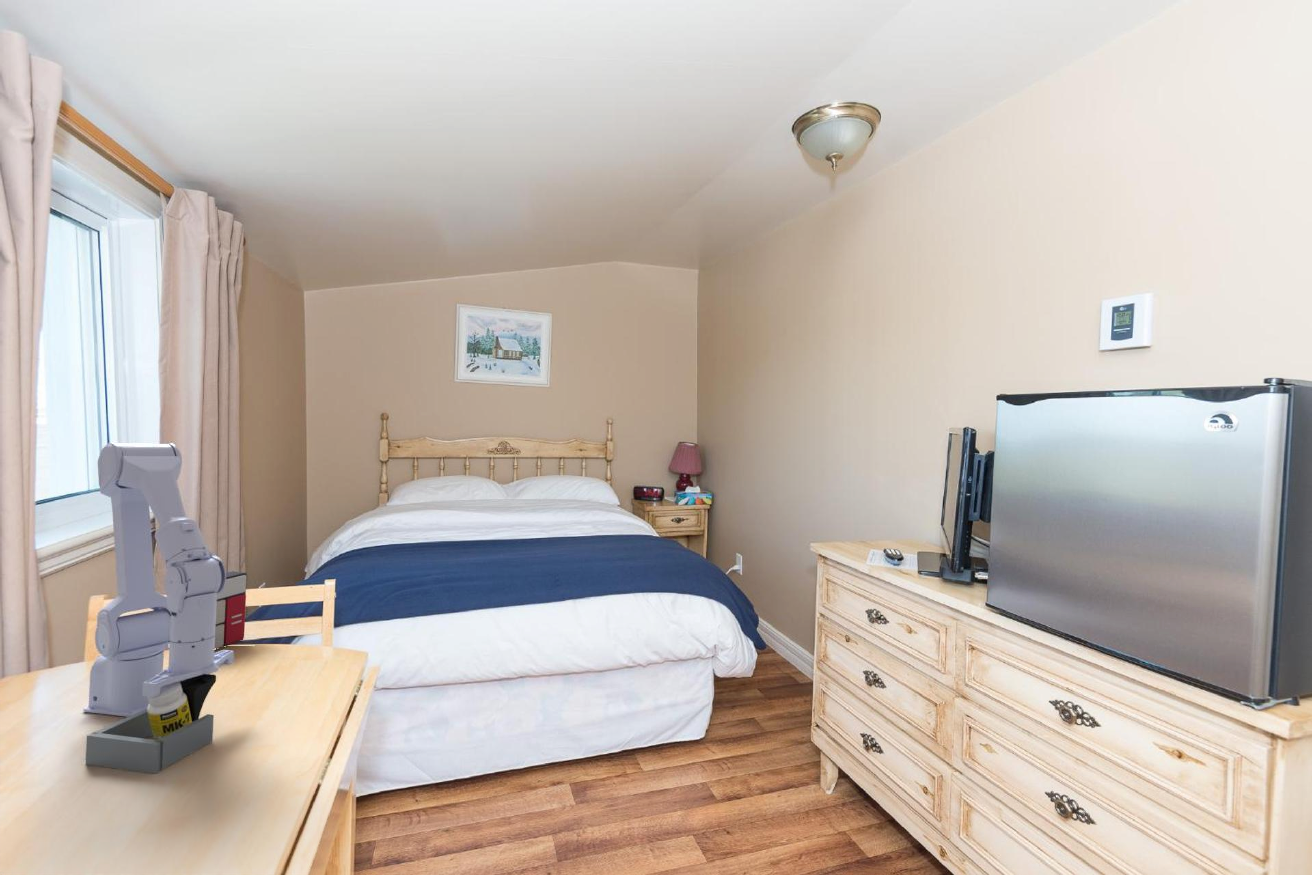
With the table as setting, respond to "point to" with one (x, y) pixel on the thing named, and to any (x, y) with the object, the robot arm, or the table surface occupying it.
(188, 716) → the supplement bottle
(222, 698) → the table surface
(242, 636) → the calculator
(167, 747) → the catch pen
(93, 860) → the table surface
